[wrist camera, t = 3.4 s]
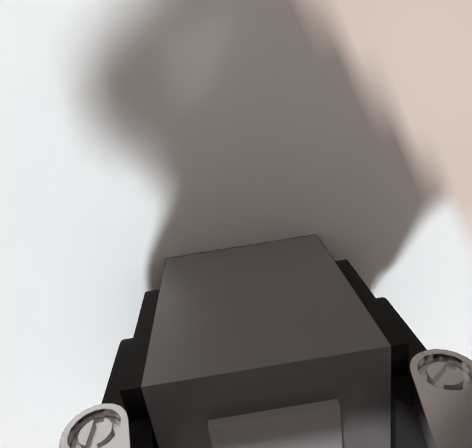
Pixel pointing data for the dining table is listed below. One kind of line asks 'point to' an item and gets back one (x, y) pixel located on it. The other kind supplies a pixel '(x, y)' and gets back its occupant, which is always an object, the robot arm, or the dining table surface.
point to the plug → (265, 353)
